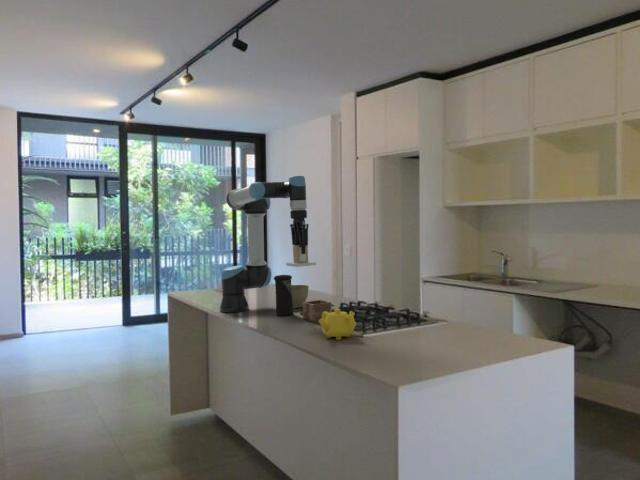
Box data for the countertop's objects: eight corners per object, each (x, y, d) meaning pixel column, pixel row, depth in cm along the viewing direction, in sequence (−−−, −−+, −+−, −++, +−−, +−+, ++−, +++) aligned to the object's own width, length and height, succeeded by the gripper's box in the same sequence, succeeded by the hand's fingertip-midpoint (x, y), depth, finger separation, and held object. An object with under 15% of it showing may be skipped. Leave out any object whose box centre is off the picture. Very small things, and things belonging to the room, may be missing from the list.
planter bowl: (296, 303, 297) (295, 284, 297) (315, 306, 286) (314, 285, 285) (273, 307, 287) (272, 287, 286) (292, 310, 275) (291, 289, 274)
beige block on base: (286, 265, 246) (285, 245, 246) (305, 263, 251) (304, 244, 251) (296, 266, 237) (295, 246, 237) (315, 264, 243) (315, 244, 242)
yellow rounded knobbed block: (339, 329, 225) (338, 303, 225) (371, 334, 213) (370, 307, 212) (304, 338, 211) (303, 311, 211) (337, 345, 199) (336, 315, 198)
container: (293, 316, 260) (291, 275, 259) (274, 316, 260) (272, 276, 259) (294, 312, 269) (292, 273, 268) (276, 313, 269) (274, 274, 268)
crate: (303, 319, 251) (302, 302, 251) (321, 316, 256) (320, 299, 256) (313, 322, 243) (312, 304, 242) (332, 319, 248) (331, 302, 247)
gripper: (283, 210, 248) (285, 260, 249) (299, 209, 234) (302, 262, 235) (297, 209, 252) (299, 259, 253) (314, 209, 238) (316, 261, 239)
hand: (300, 260), depth 244 cm, fingers closed on beige block on base, 3 cm apart
